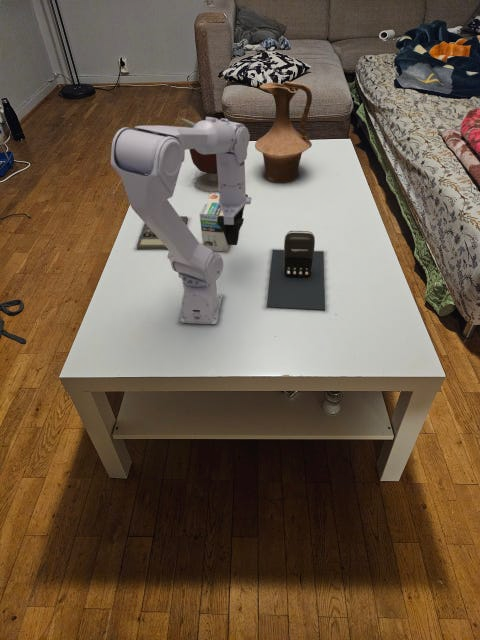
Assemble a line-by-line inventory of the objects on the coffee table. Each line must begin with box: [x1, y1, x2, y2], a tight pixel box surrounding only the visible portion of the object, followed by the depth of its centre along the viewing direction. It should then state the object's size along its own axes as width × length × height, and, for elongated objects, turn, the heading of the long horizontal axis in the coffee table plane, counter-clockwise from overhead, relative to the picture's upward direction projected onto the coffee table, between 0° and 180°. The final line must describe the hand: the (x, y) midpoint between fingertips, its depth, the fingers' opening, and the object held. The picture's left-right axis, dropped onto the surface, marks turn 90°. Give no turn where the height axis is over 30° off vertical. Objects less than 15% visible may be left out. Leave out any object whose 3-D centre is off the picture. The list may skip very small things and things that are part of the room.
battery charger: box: [283, 230, 316, 277], centre depth 106 cm, size 7×4×11 cm, turn 85°
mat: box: [266, 249, 326, 312], centre depth 110 cm, size 22×13×1 cm, turn 174°
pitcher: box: [254, 80, 313, 183], centre depth 138 cm, size 18×17×28 cm
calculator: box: [136, 215, 188, 250], centre depth 125 cm, size 12×1×15 cm
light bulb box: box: [199, 193, 230, 252], centre depth 119 cm, size 11×7×11 cm, turn 168°
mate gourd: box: [180, 118, 219, 193], centre depth 139 cm, size 16×14×20 cm
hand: (234, 234), depth 106 cm, fingers open, 7 cm apart
